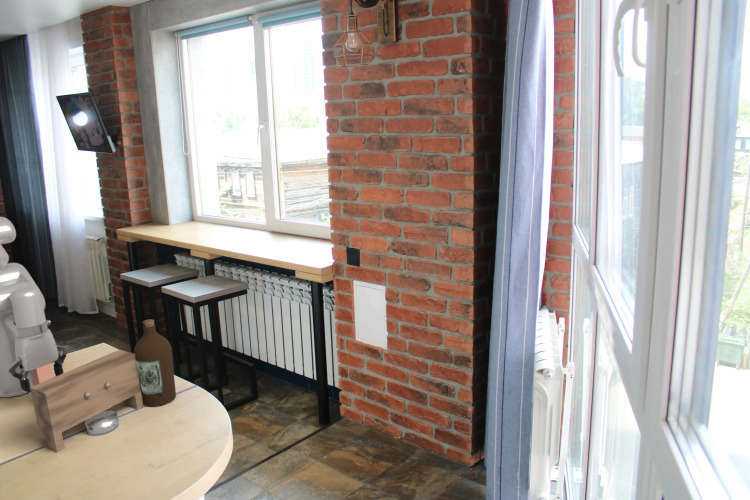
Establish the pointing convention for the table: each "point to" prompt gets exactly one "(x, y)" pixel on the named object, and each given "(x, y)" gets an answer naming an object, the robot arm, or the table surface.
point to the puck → (102, 423)
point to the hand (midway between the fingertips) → (43, 383)
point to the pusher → (41, 374)
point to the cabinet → (84, 395)
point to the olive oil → (155, 367)
